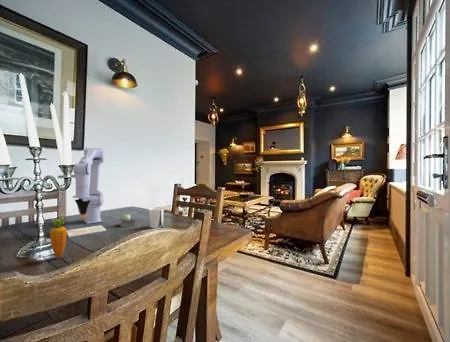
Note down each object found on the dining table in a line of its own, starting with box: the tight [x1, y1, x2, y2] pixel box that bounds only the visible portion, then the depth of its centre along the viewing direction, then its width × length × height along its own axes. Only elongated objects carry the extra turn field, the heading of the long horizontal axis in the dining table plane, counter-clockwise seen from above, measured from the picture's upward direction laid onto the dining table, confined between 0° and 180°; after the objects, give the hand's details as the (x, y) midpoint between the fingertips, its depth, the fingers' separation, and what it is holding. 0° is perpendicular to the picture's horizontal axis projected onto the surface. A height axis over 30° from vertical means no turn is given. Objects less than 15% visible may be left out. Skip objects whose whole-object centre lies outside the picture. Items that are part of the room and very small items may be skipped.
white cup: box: [148, 207, 165, 229], centre depth 125 cm, size 8×8×10 cm
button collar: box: [117, 217, 136, 228], centre depth 128 cm, size 7×7×3 cm
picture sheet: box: [66, 224, 107, 238], centre depth 116 cm, size 11×16×1 cm
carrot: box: [49, 216, 68, 259], centre depth 83 cm, size 5×5×15 cm
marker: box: [78, 208, 87, 219], centre depth 116 cm, size 3×3×7 cm
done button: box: [121, 213, 132, 221], centre depth 128 cm, size 4×4×4 cm
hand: (82, 213), depth 116 cm, fingers closed on marker, 3 cm apart
